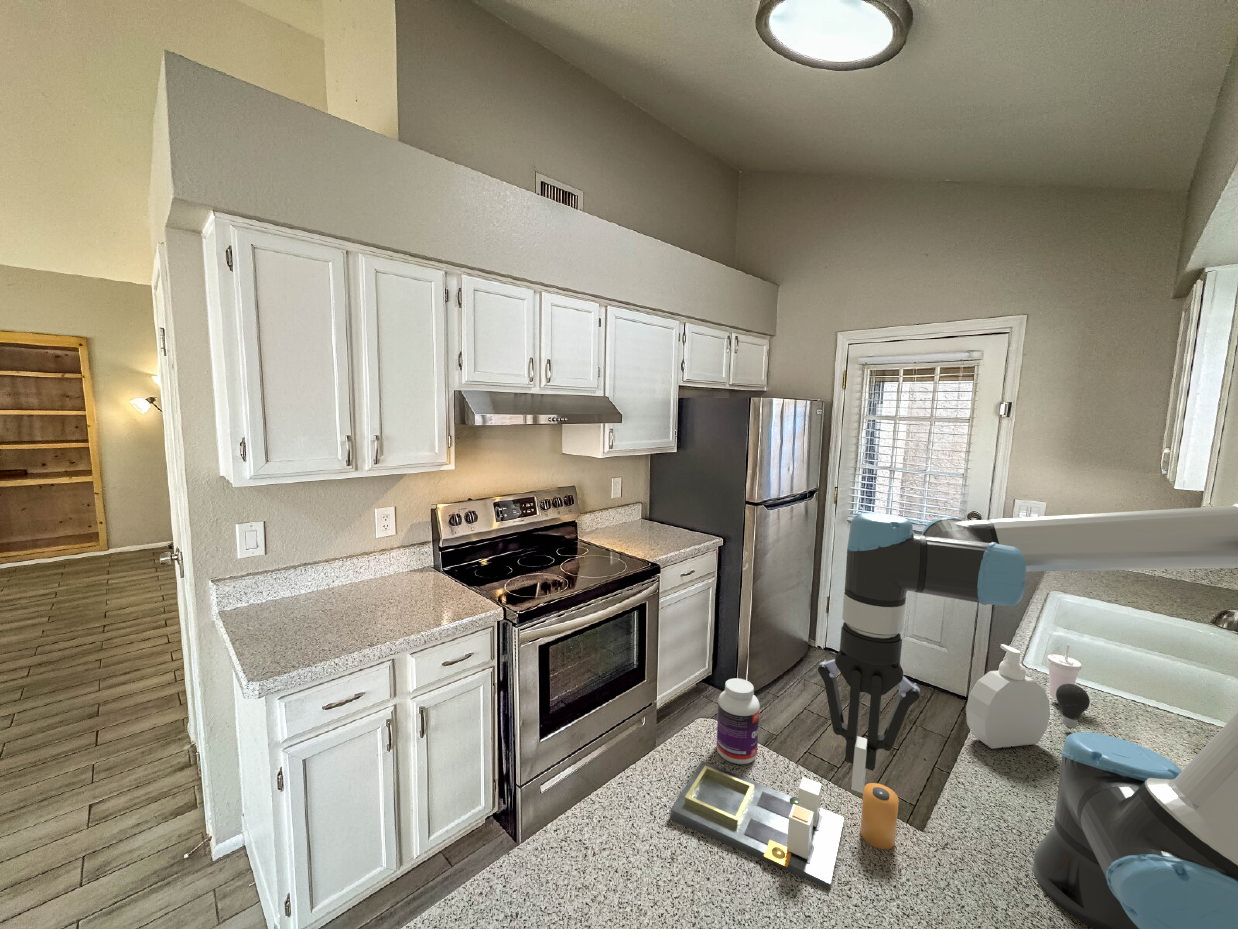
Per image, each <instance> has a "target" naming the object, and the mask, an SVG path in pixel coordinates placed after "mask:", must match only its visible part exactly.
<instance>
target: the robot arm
mask: <svg viewBox="0 0 1238 929" xmlns="http://www.w3.org/2000/svg"><path fill="white" fill-rule="evenodd" d="M913 529H914V528H913V523H912V521H911V520H910V519H907V518H906V517H902V516H899V515H892V514H888V513H873V512H868V513H867V512H866V513H860V514H858V515H855V516H854V517H853V518H852V519H851V521H850V526H849V534H848V542H847V548H846V550H847V551H846V561H845V562H846V563H845V579H844V580H845V581H844V591H843V601H842V602H843V603H842V616H841V618H842V620H843V622H842V624H841V628H840V629H841V630H840V631H841V632H840V640H839V642H840V643H839V651H838V652H837V653H836V654H835V658H834V659H829V660H827V659H822V660H821V661H820V663H819V666H818V667H817V672H818V674H819V675H820V677H821V680H822V681H823V683H824V686H825V687H824V688H825V692H826V698H827V699H826V700H827V703H828V710H829V715H830V719H831V725H832V726H831V727H832V731H833V734H835V735H837V736H841V737H842V738H843V739H845V741H846V742H845V743H846V744H845V762H846V763H849V764H852V765H853V766H852V778H851V787H850V789H851V790H852V791H855V792H858V793H861V794H863V790H864V786H865V785H866V784H865V782H866V776H867V775H866V773H867V772H866V771H867V770H870V771H872V772H873V771H874V770H875V768H876V762H877V754H878V753H877V751H878V750H884V751H886V752H890V751H891V750H892V748H893V746H894V744H895V742H896V739H897V737H898V735H899V733H900V730H901V727H902V725H903V723H904V720H905V718H906V716H907V714H908V711H909V708H910V707H911V706H912V705H913V704H914V703H915V702H917V701H918V700H919V699H920V697H921V696H920V694H921V690H920V689H921V687H920V685H919V683H916V682H911V681H910V680H909V679H908V678H907V677H906V676H904V670H903V668H902V666H901V656H902V646H903V634H902V632H903V631H904V625H905V624H904V622H905V611H906V600H907V592H913V593H918V594H924V595H925V594H926V595H930V596H937V597H942V598H949V599H955V600H961V601H967V602H972V603H977V604H978V603H979V604H981V605H984V606H987V605H993V606H1000V607H1001V606H1002V607H1014V606H1016V605H1018V604H1019V603H1020V602H1021V600H1022V599H1023V596H1024V593H1025V589H1026V582H1027V572H1059V571H1060V572H1061V571H1062V572H1065V571H1066V572H1068V571H1069V572H1070V571H1071V572H1072V571H1075V572H1076V571H1079V572H1080V571H1126V570H1127V571H1129V570H1131V571H1133V570H1135V571H1137V570H1141V571H1142V570H1187V569H1188V570H1191V569H1193V570H1194V569H1195V570H1197V569H1199V570H1201V569H1203V570H1204V569H1238V499H1237V500H1236V501H1235V502H1234V503H1233V504H1232V505H1223V506H1222V505H1221V506H1207V507H1206V506H1204V507H1187V508H1185V507H1184V508H1171V509H1154V510H1153V509H1151V510H1138V511H1137V510H1135V511H1118V512H1117V511H1115V512H1103V513H1101V512H1100V513H1099V512H1098V513H1083V514H1068V515H1067V514H1063V515H1050V516H1048V515H1047V516H1031V517H1030V516H1027V517H1013V518H997V519H995V518H993V519H976V520H974V519H973V520H961V519H960V518H955V517H950V516H949V517H947V516H946V517H940V518H936V519H934V520H932V521H930V522H928V524H927V525H925V527H924V529H923V530H922V532H921V534H917V533H914V530H913ZM838 671H839V672H840V674H841V676H842V677H843V678H844V680H845V682H846V684H847V685H848V686H849V687H850V688H849V704H848V715H847V716H848V717H847V723H845V719H844V718H845V717H844V712H843V707H842V701H841V697H840V691H839V685H838V680H837V675H838ZM897 685H898V686H899V687H898V694H899V696H898V699H897V701H896V703H895V705H894V708H893V710H892V713H891V715H890V717H889V720H888V722H887V724H886V727H885V730H884V732H883V734H879V732H880V731H879V729H880V718H881V708H882V707H881V706H882V705H881V704H882V696H885V695H886V694H888V693H889V692H890V691H891V690H893V689H894V688H895V687H896V686H897ZM862 693H866V694H867V695H870V696H869V698H870V699H869V703H870V704H869V713H868V714H869V715H868V724H867V727H868V728H867V736H866V738H865V737H861V736H858V733H859V723H860V722H859V721H860V712H861V710H860V709H861V699H862ZM1060 754H1061V763H1060V772H1059V777H1058V778H1059V779H1058V788H1057V795H1056V796H1057V797H1056V803H1055V804H1056V805H1055V806H1056V807H1055V813H1054V822H1053V825H1052V827H1051V828H1050V829H1049V831H1048V832H1047V833H1046V834H1045V836H1044V837H1043V839H1042V840H1041V841H1040V843H1039V844H1038V846H1037V847H1036V849H1035V851H1034V854H1033V863H1032V873H1033V875H1034V877H1035V879H1036V882H1037V883H1038V885H1039V886H1040V887H1041V889H1042V890H1043V891H1044V892H1045V893H1046V894H1047V896H1048V897H1050V898H1051V900H1052V901H1053V902H1055V903H1056V904H1057V905H1058V906H1059V907H1061V908H1062V909H1063V910H1064V912H1067V914H1069V915H1071V916H1072V917H1074V918H1075V919H1076V920H1078V921H1079V922H1081V923H1082V924H1084V925H1086V926H1088V927H1090V928H1091V929H1238V711H1237V712H1236V713H1234V715H1233V716H1231V718H1230V719H1229V720H1228V721H1227V723H1225V725H1223V726H1222V728H1221V729H1220V730H1219V731H1218V732H1217V733H1216V734H1215V735H1214V737H1213V738H1211V739H1210V741H1208V743H1207V744H1206V745H1205V746H1204V747H1203V748H1202V749H1201V750H1200V751H1199V752H1198V753H1197V754H1196V756H1194V757H1193V759H1192V760H1191V761H1190V762H1189V763H1188V764H1187V765H1186V766H1185V767H1184V769H1182V770H1181V768H1180V767H1179V766H1178V765H1177V764H1175V763H1174V762H1173V761H1172V760H1170V759H1168V758H1167V757H1166V756H1164V755H1162V754H1160V753H1158V752H1156V751H1153V750H1152V749H1149V748H1147V747H1145V746H1142V745H1140V744H1138V743H1134V742H1131V741H1130V740H1129V741H1128V740H1126V739H1122V738H1120V737H1115V736H1112V735H1108V734H1103V733H1098V732H1089V731H1078V732H1071V733H1070V734H1068V735H1067V736H1066V737H1065V740H1064V745H1063V750H1061V751H1060Z"/></svg>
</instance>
